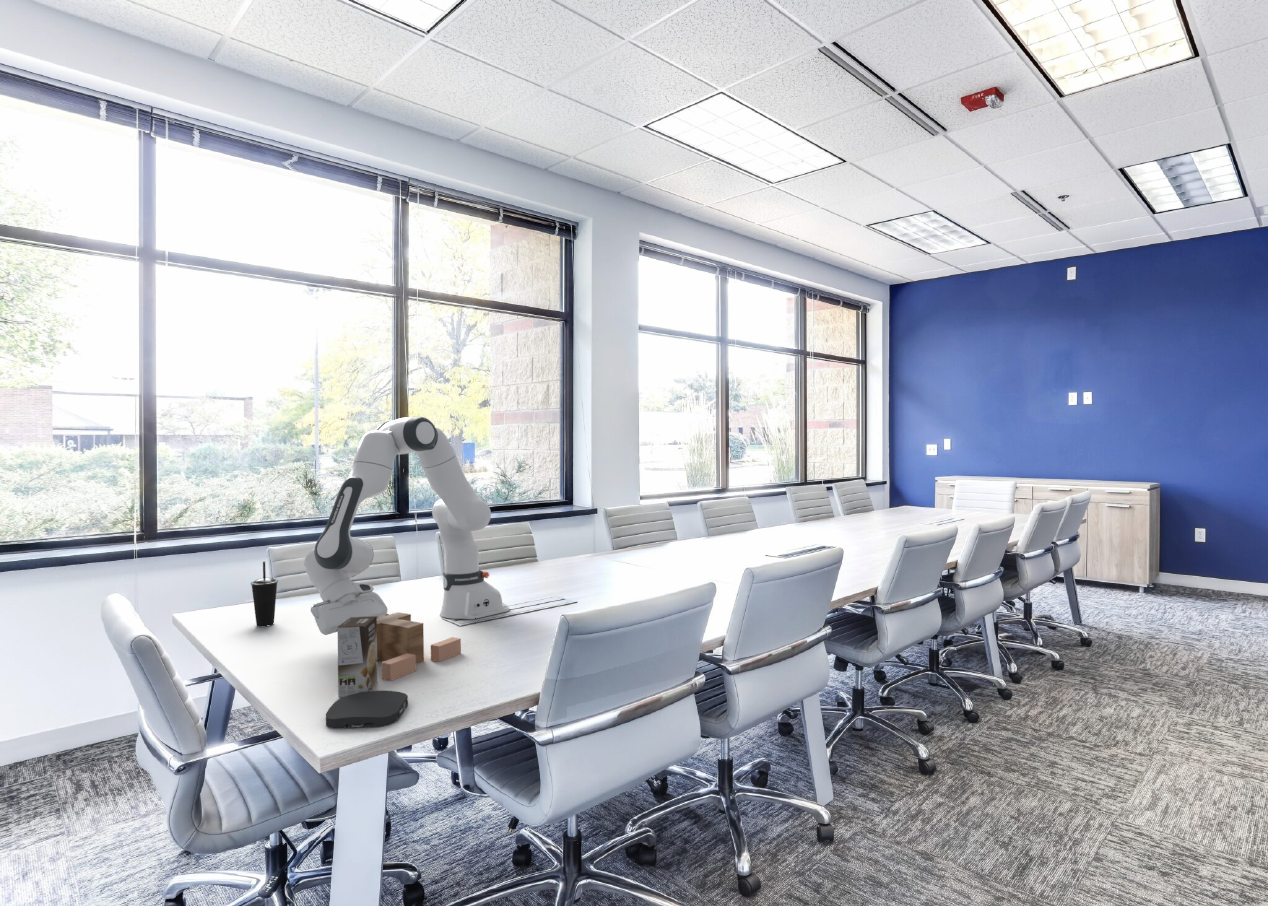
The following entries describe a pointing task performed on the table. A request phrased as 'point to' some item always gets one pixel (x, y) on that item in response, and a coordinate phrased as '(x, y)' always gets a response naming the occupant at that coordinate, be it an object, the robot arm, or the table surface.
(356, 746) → the table surface
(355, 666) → the coffee box
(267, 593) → the drinking cup
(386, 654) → the t block
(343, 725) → the media streaming box
